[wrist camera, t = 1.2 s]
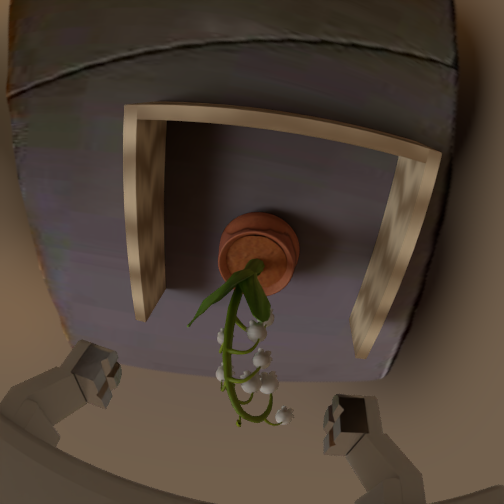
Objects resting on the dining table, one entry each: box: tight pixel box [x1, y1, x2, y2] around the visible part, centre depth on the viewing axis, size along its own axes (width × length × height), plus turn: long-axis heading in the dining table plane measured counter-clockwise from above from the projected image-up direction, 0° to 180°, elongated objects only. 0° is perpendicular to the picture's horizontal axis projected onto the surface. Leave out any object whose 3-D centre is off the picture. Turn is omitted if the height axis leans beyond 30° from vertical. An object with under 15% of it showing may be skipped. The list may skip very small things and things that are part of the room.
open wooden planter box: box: [123, 102, 442, 359], centre depth 35 cm, size 27×31×8 cm
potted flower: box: [187, 212, 300, 427], centre depth 30 cm, size 12×10×25 cm
